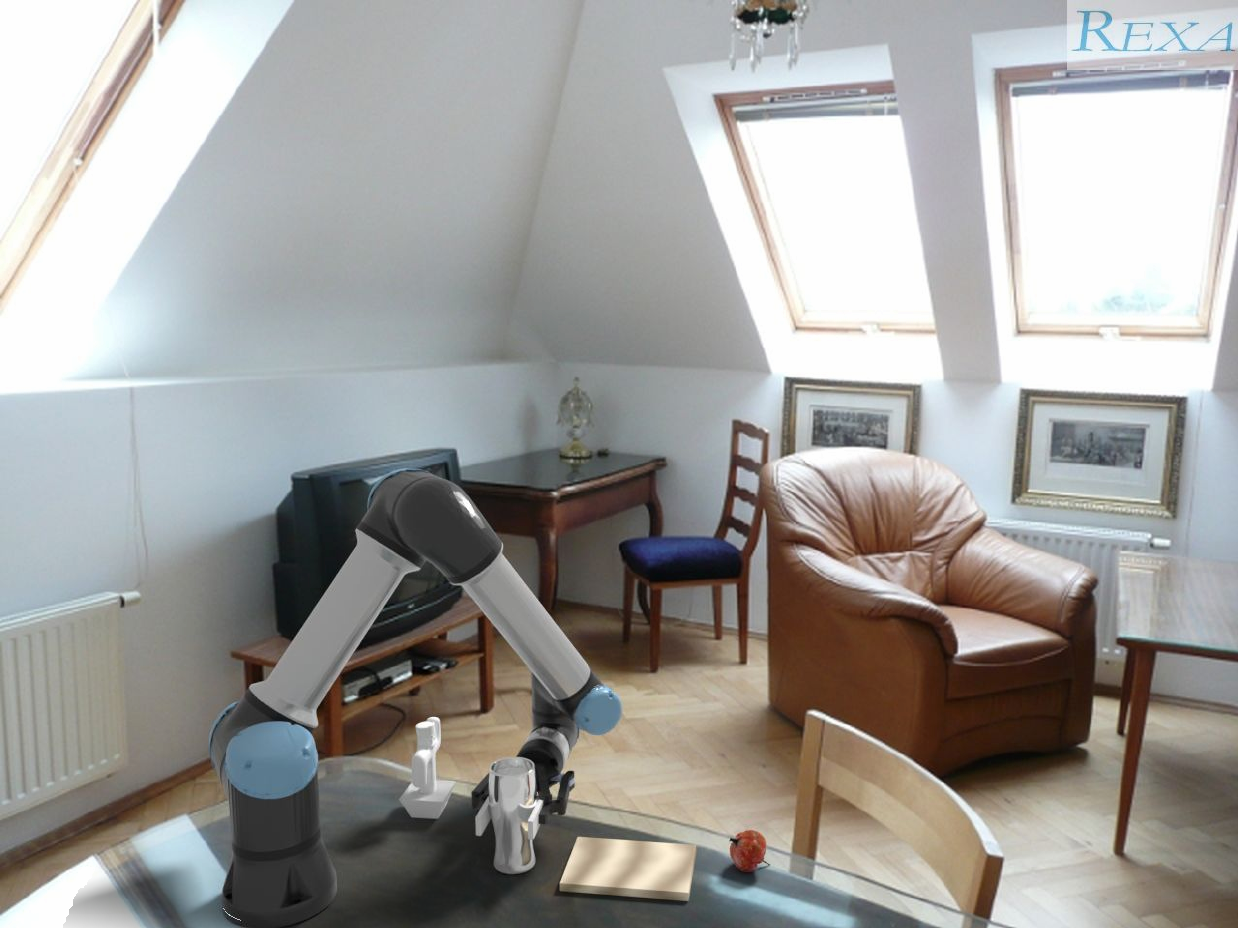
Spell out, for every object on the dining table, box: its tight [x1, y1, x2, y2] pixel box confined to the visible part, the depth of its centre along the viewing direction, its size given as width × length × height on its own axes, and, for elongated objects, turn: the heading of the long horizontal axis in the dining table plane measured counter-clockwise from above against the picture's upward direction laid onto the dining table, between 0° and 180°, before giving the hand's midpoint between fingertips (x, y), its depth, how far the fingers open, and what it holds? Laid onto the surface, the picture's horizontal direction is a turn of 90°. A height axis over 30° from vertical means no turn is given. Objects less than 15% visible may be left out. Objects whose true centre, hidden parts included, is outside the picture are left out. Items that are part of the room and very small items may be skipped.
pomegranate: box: [728, 829, 771, 873], centre depth 150 cm, size 6×6×8 cm
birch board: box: [559, 836, 697, 902], centre depth 150 cm, size 18×13×1 cm
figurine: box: [398, 716, 456, 820], centre depth 167 cm, size 7×9×15 cm
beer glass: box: [488, 756, 538, 875], centre depth 151 cm, size 7×7×15 cm
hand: (504, 828), depth 146 cm, fingers closed on beer glass, 7 cm apart
